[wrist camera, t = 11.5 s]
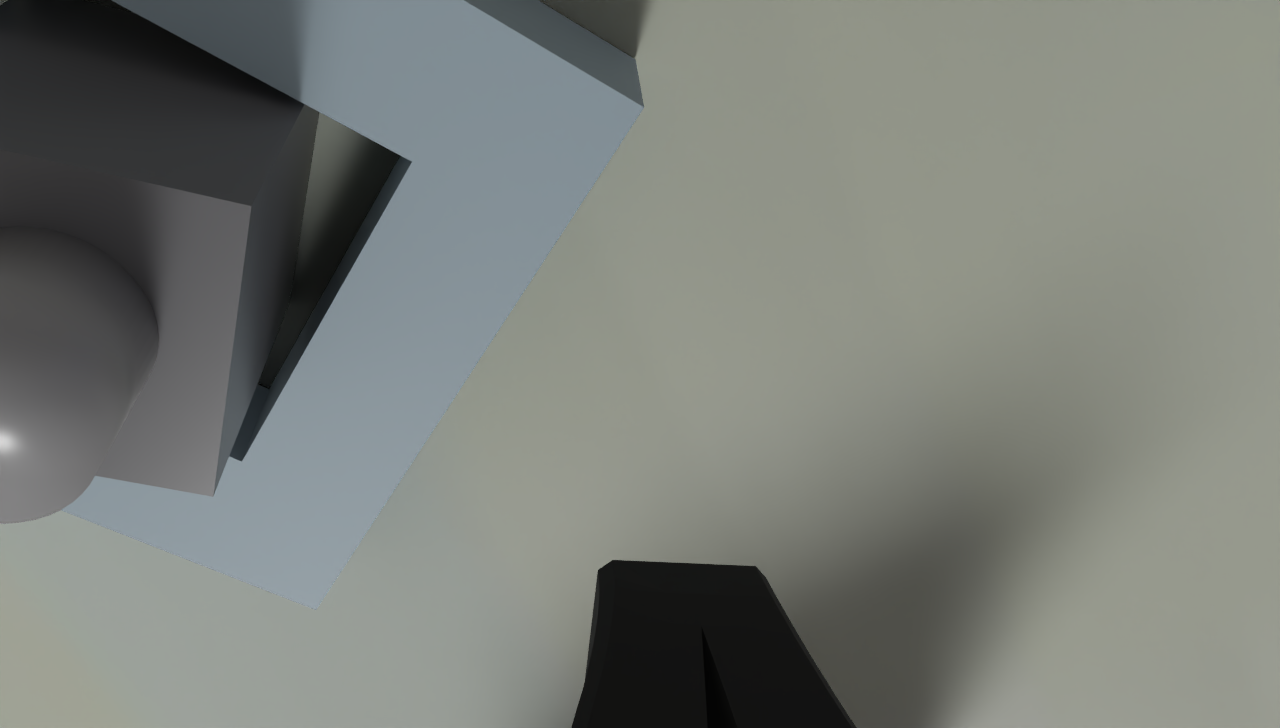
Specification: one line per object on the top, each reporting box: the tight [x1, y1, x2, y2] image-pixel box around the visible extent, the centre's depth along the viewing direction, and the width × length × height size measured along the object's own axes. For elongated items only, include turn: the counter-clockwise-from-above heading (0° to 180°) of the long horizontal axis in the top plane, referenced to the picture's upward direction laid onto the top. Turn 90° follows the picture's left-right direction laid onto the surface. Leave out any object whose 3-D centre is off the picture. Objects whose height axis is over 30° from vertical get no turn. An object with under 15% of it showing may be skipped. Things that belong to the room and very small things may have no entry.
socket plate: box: [62, 0, 644, 610], centre depth 17 cm, size 10×10×2 cm
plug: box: [0, 0, 319, 524], centre depth 15 cm, size 4×4×7 cm
